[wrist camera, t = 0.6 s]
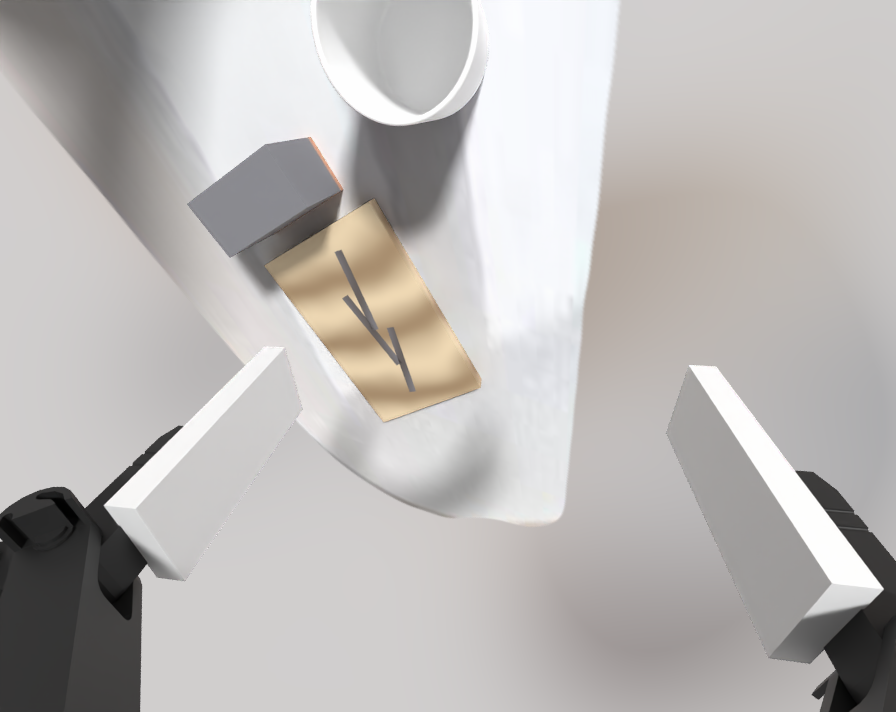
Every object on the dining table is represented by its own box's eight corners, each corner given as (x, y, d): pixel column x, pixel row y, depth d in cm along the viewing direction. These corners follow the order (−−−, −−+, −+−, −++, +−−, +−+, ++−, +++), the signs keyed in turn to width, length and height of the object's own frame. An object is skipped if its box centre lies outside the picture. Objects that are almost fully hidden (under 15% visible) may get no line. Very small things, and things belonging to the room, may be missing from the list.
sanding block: (242, 187, 35) (187, 204, 29) (311, 137, 32) (265, 144, 26) (275, 233, 37) (229, 257, 31) (343, 189, 34) (307, 207, 28)
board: (272, 260, 38) (263, 265, 37) (374, 198, 34) (368, 201, 33) (387, 413, 46) (383, 422, 45) (481, 379, 42) (480, 387, 41)
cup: (415, 143, 31) (377, 158, 23) (313, -32, 27) (218, -97, 18) (511, 73, 28) (509, 59, 20) (415, -140, 23) (358, -279, 15)
